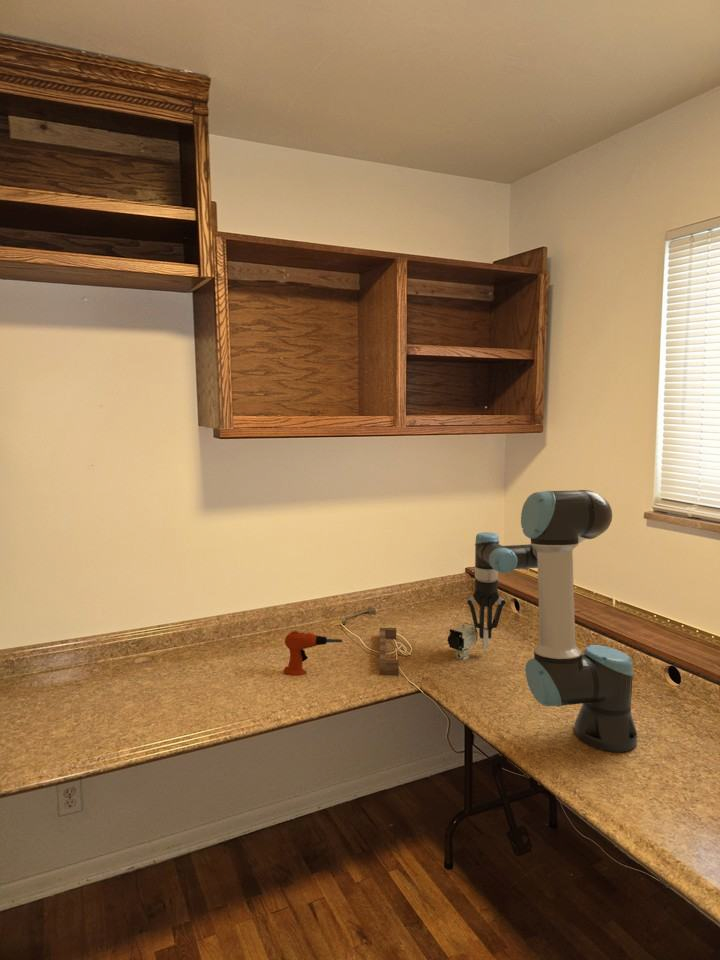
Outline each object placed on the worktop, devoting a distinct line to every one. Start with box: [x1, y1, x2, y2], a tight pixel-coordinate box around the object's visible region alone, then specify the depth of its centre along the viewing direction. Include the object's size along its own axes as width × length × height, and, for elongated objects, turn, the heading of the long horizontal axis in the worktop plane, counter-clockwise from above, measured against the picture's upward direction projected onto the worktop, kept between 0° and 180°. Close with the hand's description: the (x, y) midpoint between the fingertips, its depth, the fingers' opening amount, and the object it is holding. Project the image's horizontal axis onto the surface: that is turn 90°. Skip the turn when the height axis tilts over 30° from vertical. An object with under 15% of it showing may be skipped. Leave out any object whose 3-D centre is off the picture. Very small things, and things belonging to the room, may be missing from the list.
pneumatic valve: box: [447, 622, 479, 661], centre depth 200 cm, size 6×12×12 cm, turn 137°
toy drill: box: [283, 630, 343, 677], centre depth 187 cm, size 5×19×15 cm, turn 87°
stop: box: [379, 627, 400, 677], centre depth 202 cm, size 30×6×5 cm, turn 178°
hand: (485, 647), depth 201 cm, fingers closed
